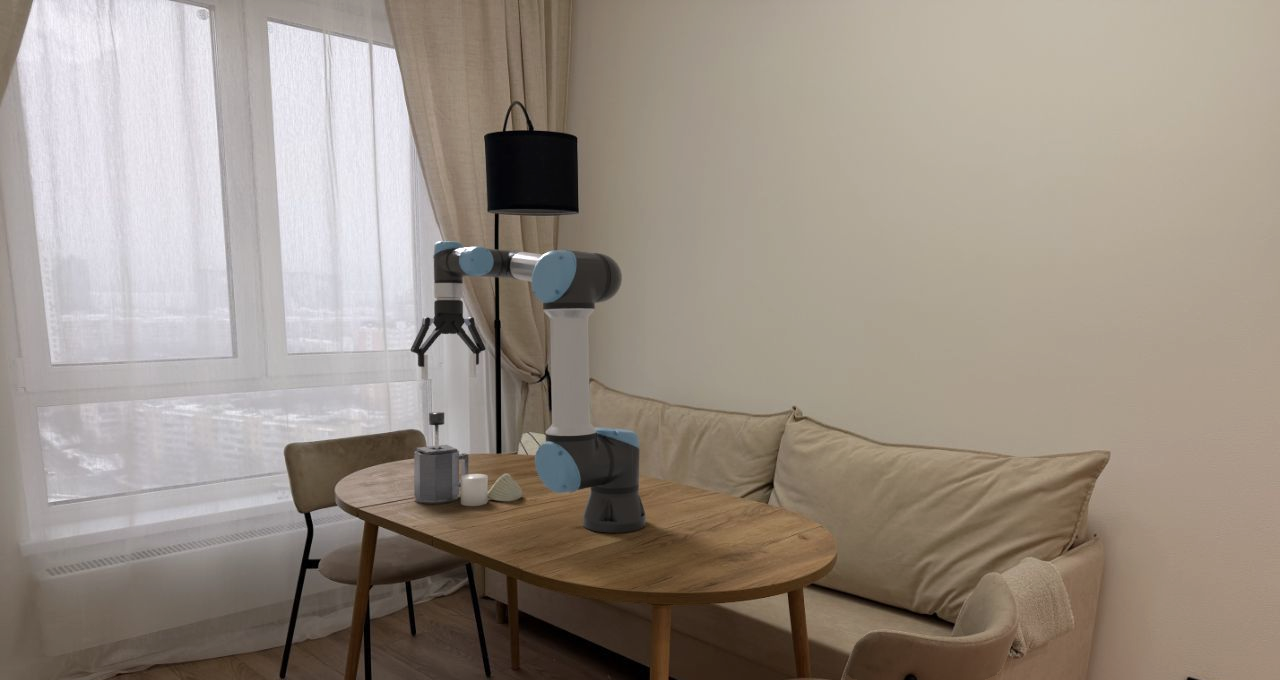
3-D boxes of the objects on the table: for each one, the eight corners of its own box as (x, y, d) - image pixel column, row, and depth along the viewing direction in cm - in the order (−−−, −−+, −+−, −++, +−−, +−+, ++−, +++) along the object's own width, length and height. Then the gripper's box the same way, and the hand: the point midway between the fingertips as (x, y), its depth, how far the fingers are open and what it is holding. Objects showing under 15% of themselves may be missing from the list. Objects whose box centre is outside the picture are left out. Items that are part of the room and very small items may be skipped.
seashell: (530, 491, 208) (508, 480, 203) (511, 515, 208) (489, 505, 203) (521, 475, 214) (499, 464, 209) (502, 498, 215) (480, 487, 210)
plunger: (455, 483, 206) (455, 413, 206) (427, 487, 202) (427, 415, 201) (445, 478, 212) (445, 410, 212) (418, 481, 208) (418, 412, 208)
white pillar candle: (491, 503, 203) (491, 477, 203) (466, 507, 199) (466, 480, 199) (481, 498, 209) (481, 472, 209) (456, 501, 205) (456, 475, 205)
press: (474, 499, 208) (474, 448, 207) (423, 506, 200) (423, 453, 199) (459, 490, 217) (459, 442, 216) (409, 497, 209) (409, 447, 208)
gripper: (485, 300, 217) (486, 375, 217) (398, 299, 202) (398, 379, 203) (497, 299, 211) (497, 376, 211) (407, 298, 196) (408, 381, 197)
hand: (449, 378), depth 207 cm, fingers open, 13 cm apart
